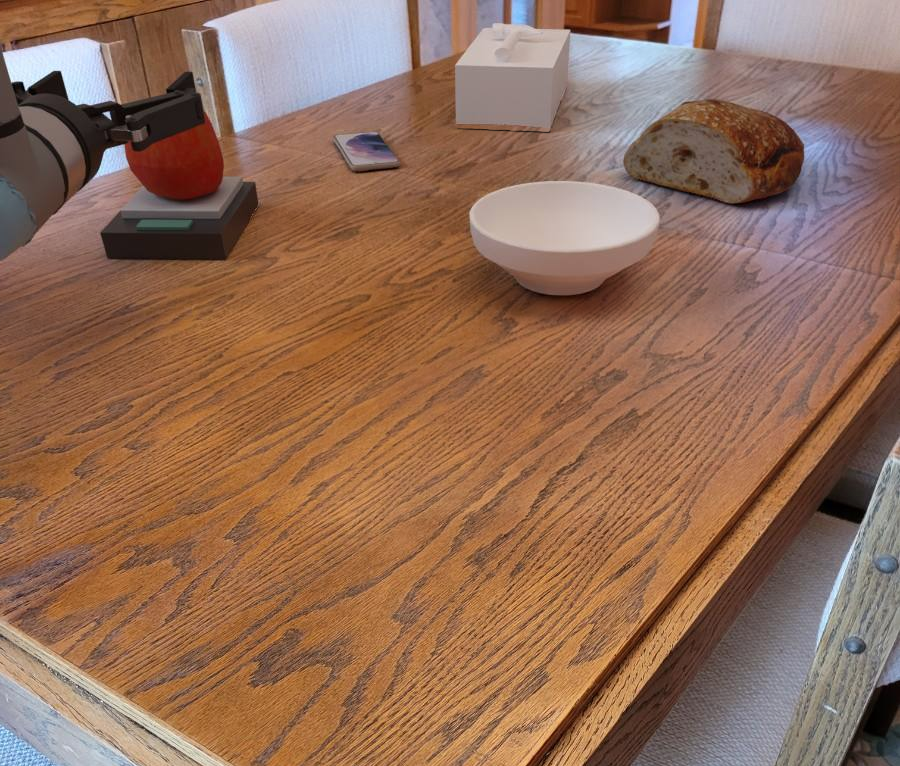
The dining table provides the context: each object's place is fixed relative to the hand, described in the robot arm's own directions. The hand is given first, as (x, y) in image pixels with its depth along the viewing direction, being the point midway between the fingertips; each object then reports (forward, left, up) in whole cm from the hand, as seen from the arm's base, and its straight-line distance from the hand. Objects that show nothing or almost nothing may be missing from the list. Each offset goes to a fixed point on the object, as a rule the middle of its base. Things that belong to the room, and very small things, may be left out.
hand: (126, 86), depth 92 cm
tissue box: (+39, +61, -18) cm, 75 cm away
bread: (+67, +27, -18) cm, 74 cm away
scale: (0, +8, -18) cm, 20 cm away
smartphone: (+18, +37, -18) cm, 45 cm away
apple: (0, +10, -14) cm, 17 cm away
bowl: (+45, -5, -18) cm, 49 cm away
